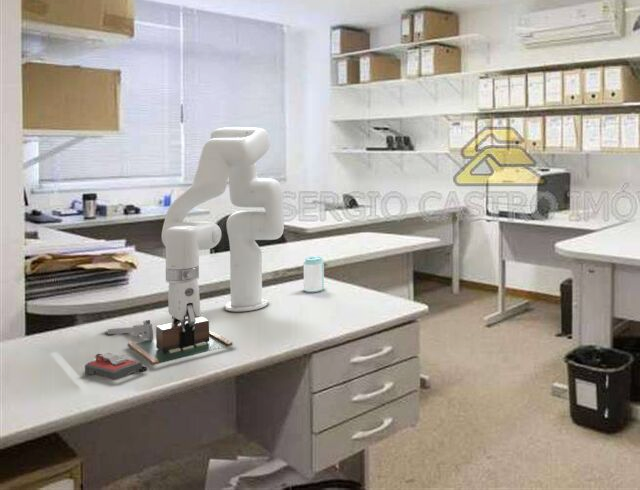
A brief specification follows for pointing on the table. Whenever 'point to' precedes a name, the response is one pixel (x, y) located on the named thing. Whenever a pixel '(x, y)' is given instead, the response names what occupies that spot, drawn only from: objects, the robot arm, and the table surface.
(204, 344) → the chalk mark
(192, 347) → the chalk mark
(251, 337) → the table surface
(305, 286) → the can
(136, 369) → the toy chainsaw
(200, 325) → the eraser
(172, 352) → the chalk mark
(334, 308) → the table surface
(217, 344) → the chalkboard
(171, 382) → the table surface
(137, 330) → the caliper
